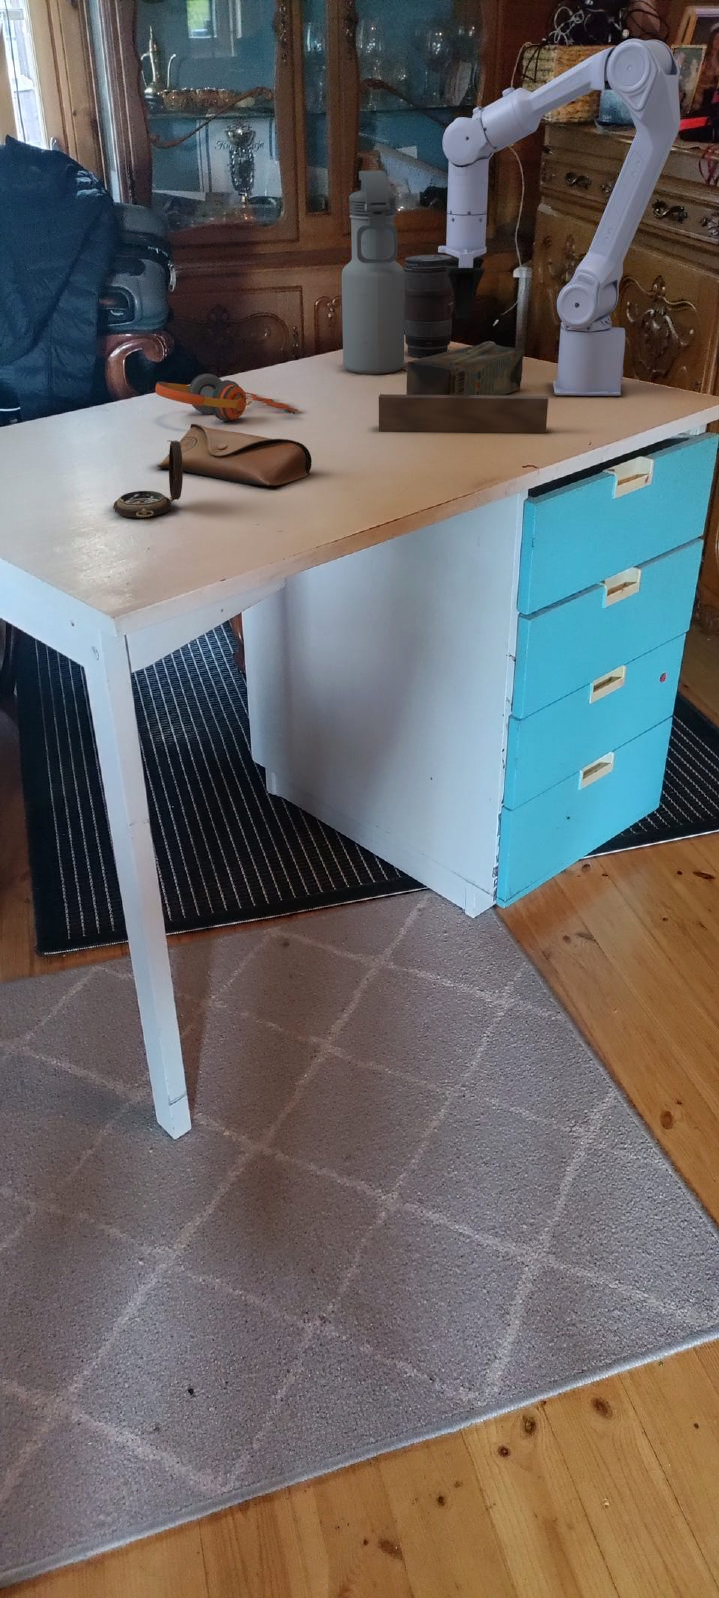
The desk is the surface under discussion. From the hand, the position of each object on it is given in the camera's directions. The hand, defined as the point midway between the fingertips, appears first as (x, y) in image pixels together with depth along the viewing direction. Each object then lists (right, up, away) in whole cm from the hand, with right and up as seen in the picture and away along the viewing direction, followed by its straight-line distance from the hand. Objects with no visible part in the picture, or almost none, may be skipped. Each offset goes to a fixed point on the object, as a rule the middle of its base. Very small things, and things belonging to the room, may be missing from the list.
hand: (463, 313), depth 179 cm
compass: (-38, -42, -49) cm, 75 cm away
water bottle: (-13, -4, +12) cm, 18 cm away
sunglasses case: (-31, -34, -36) cm, 58 cm away
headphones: (-34, -20, -13) cm, 41 cm away
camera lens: (-4, +2, +21) cm, 22 cm away
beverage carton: (0, -15, -6) cm, 16 cm away
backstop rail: (-2, -24, -22) cm, 33 cm away
